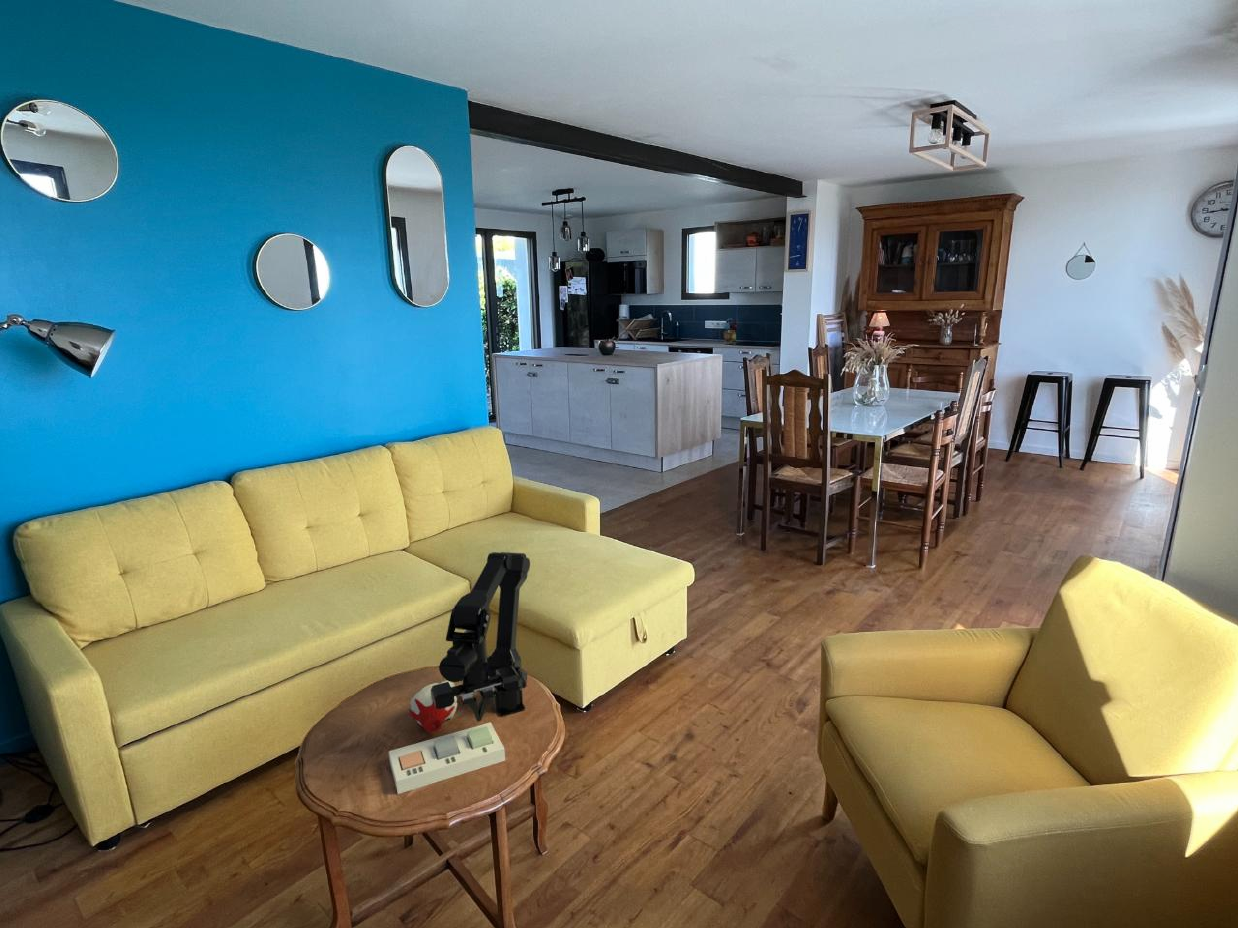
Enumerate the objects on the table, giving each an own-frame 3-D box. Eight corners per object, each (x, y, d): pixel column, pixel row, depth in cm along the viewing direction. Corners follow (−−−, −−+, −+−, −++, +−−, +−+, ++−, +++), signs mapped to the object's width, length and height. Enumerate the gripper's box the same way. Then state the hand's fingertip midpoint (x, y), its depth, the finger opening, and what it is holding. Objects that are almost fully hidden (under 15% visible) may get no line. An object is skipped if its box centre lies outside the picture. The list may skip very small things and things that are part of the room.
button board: (491, 733, 161) (490, 721, 161) (505, 760, 152) (504, 747, 151) (389, 763, 152) (388, 750, 151) (397, 793, 142) (396, 780, 141)
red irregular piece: (456, 699, 175) (461, 740, 161) (410, 706, 172) (411, 749, 158) (454, 669, 172) (458, 709, 158) (407, 676, 169) (407, 717, 155)
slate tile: (454, 744, 154) (453, 735, 154) (459, 755, 150) (458, 746, 150) (434, 749, 152) (433, 741, 152) (438, 761, 148) (438, 752, 148)
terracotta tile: (420, 758, 151) (420, 750, 151) (424, 770, 147) (423, 761, 147) (400, 765, 149) (399, 756, 149) (403, 777, 145) (402, 768, 145)
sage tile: (487, 734, 157) (486, 726, 157) (492, 745, 153) (491, 736, 153) (468, 740, 155) (467, 731, 155) (473, 751, 152) (472, 742, 151)
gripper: (504, 632, 160) (508, 691, 164) (423, 651, 153) (429, 713, 156) (519, 653, 151) (523, 716, 154) (433, 674, 143) (439, 740, 147)
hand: (478, 720), depth 153 cm, fingers closed
